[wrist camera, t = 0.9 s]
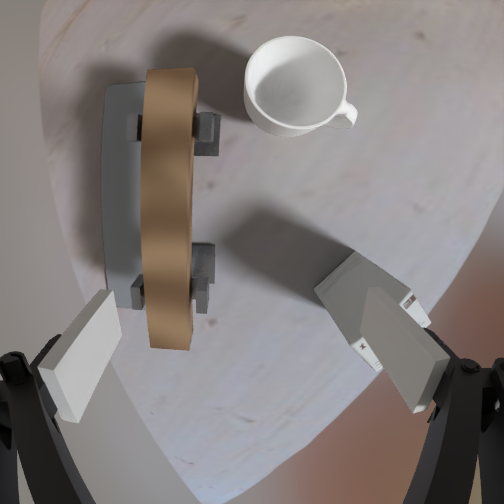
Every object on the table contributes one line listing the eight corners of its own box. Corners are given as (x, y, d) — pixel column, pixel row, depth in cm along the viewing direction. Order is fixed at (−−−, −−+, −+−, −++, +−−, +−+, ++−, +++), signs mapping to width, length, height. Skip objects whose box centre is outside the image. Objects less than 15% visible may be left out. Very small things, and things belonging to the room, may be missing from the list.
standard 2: (153, 242, 37) (126, 274, 27) (215, 244, 38) (209, 278, 28) (154, 279, 39) (131, 320, 28) (214, 281, 40) (209, 325, 29)
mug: (229, 127, 34) (229, 107, 22) (253, 64, 32) (264, 22, 20) (319, 160, 36) (359, 158, 24) (341, 98, 34) (385, 75, 22)
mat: (107, 86, 31) (105, 85, 30) (150, 82, 31) (149, 81, 31) (111, 305, 40) (110, 306, 39) (150, 308, 40) (149, 309, 40)
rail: (157, 80, 24) (147, 69, 21) (198, 79, 25) (193, 67, 21) (158, 327, 32) (150, 347, 28) (193, 329, 32) (189, 350, 29)
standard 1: (155, 116, 33) (126, 100, 22) (220, 115, 33) (216, 97, 23) (153, 155, 34) (122, 155, 24) (218, 156, 35) (212, 154, 24)
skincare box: (335, 313, 42) (375, 377, 28) (310, 286, 41) (346, 349, 27) (378, 274, 41) (434, 325, 27) (356, 245, 39) (413, 290, 25)
